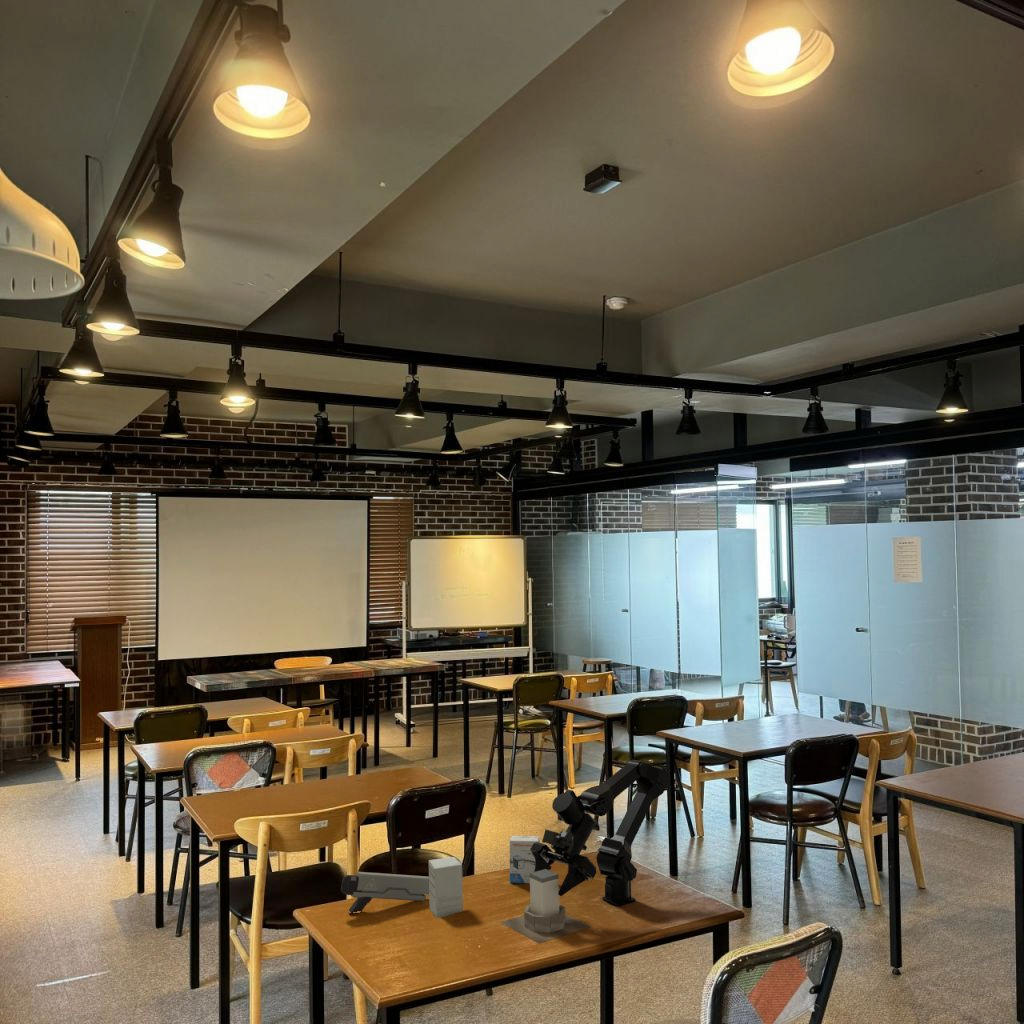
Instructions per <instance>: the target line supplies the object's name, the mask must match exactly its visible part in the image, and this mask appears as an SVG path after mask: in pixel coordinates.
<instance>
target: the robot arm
mask: <svg viewBox="0 0 1024 1024" xmlns="http://www.w3.org/2000/svg"><path fill="white" fill-rule="evenodd" d="M670 781H671V775H670V773H669V771H668V769H667V768H665V767H660V766H656V765H649V764H648V763H646V762H644V761H642V760H635V759H630V760H628V761H626V763H625V765H623V767H621V768H620V769H619V770H617V771H616V772H615V773H613V774H612V775H611V776H610V777H609V778H608V779H606V780H605V781H604V782H603V783H601V784H598V785H593V786H590V787H588V788H586V789H584V790H583V791H582V792H581V793H580V794H579V795H576V793H575V791H574V790H573V789H569V788H568V789H566V790H565V792H562V793H560V794H559V795H558V796H556V797H555V798H553V801H552V804H551V805H552V806H551V808H552V810H553V811H554V812H555V813H556V814H557V815H558V817H559V818H560V819H561V820H562V821H563V823H564V824H566V825H568V826H567V828H566V830H563V829H562V830H560V832H556V831H553V830H550V829H544V834H543V837H542V839H541V840H542V841H541V842H540V843H539V842H536V843H534V844H533V846H532V847H531V849H530V851H531V852H532V855H533V856H534V857H535V871H534V872H537V871H540V870H544V869H547V870H549V871H551V869H552V865H553V864H554V863H555V862H557V863H560V864H563V865H567V873H566V875H565V877H564V879H563V882H562V883H561V885H560V887H559V892H558V895H559V897H562V896H564V895H565V894H567V893H568V892H569V891H571V890H572V889H574V888H575V887H577V886H578V885H580V884H582V883H584V882H585V881H586V882H587V881H589V879H591V880H593V879H594V878H595V876H596V874H597V867H598V870H599V873H600V876H601V875H602V876H605V877H604V878H605V883H604V896H602V897H601V900H602V901H605V902H607V901H608V903H609V904H610V903H611V904H612V905H614V904H615V905H614V906H619V905H620V906H622V905H627V904H629V903H631V901H632V902H635V901H636V898H635V897H633V896H632V881H633V880H634V879H636V877H637V873H638V869H637V868H636V867H635V865H634V864H633V863H632V862H631V861H632V859H633V855H632V854H633V853H632V844H633V842H634V840H635V839H636V836H637V834H638V833H639V831H640V828H641V826H642V824H643V822H644V820H645V819H646V816H647V814H648V811H649V810H650V807H651V805H652V804H653V802H654V800H656V799H657V798H659V797H660V796H661V795H663V794H664V793H665V791H666V789H667V788H668V786H669V784H670ZM634 783H636V793H635V795H634V797H633V798H632V800H631V801H630V805H629V806H628V808H627V810H626V812H625V814H624V816H623V818H622V820H621V822H620V824H619V826H618V828H617V830H616V832H615V833H614V835H613V837H611V838H608V837H604V839H602V842H601V844H600V846H599V848H598V849H597V855H596V857H595V859H596V863H597V867H596V865H595V864H594V863H593V861H591V860H590V859H589V857H588V856H584V855H582V854H581V852H582V851H586V850H587V849H588V846H587V845H586V843H587V841H588V840H589V837H590V835H592V831H597V832H599V831H600V829H601V828H600V825H599V819H597V818H594V817H593V816H592V815H594V816H598V817H604V816H606V815H607V814H608V812H609V811H610V810H611V809H612V808H613V806H614V802H615V801H614V800H615V799H617V798H618V796H620V795H621V794H622V793H623V792H624V791H625V790H626V789H628V788H629V787H630V786H631V785H633V784H634ZM545 843H546V844H545ZM547 844H548V845H550V847H549V846H548V845H547ZM634 900H635V901H634ZM628 902H629V903H628Z"/></svg>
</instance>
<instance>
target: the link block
mask: <svg viewBox="0 0 1024 1024" xmlns="http://www.w3.org/2000/svg"><path fill="white" fill-rule="evenodd" d="M559 881H560V880H559V873H557V872H554V871H552V870H547V869H544V870H540V871H537V872H533V873H530V883H529V891H530V892H529V893H530V894H529V897H530V900H529V902H530V904H529V905H530V907H531V913H532V914H534V915H537V916H551V915H555V914H558V913H559V905H560V896H559V895H558V892H559V890H560V887H559V885H560V883H559Z"/></svg>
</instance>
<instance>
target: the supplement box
mask: <svg viewBox="0 0 1024 1024" xmlns="http://www.w3.org/2000/svg"><path fill="white" fill-rule="evenodd" d="M428 877H429V895H428V897H429V900H428V901H429V910H430V911H431V913H432V912H433V913H432V914H433V916H434V915H435V916H434V918H435V919H436V918H437V919H440V918H441V919H442V918H444V917H447V916H451V915H454V914H455V915H456V914H458V913H461V912H463V911H464V898H463V897H464V895H463V893H464V892H463V891H464V890H463V887H464V886H463V864H462V863H461V862H460V861H459V860H458V859H457V858H456V856H450V857H444V858H443V857H442V858H436V859H429V860H428Z"/></svg>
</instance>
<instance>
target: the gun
mask: <svg viewBox="0 0 1024 1024" xmlns="http://www.w3.org/2000/svg"><path fill="white" fill-rule="evenodd" d="M340 892H341V893H342V894H343V895H346V896H351V897H352V898H356V899H355V901H354V902H353V903H352V905H351V906H350V907H349V909H348V910H349V911H350V912H351V913H353V912H357V911H361V912H362V911H363V910H364V909H365V907H366V906H367V905H368V904H369V903H370V902H371V901H372V900H373V899H378V900H379V899H381V900H398V901H414V902H415V901H418V902H425V901H426V899H427V895H428V896H429V876H424V875H423V876H422V875H409V874H395V873H393V874H392V873H381V872H365V871H357V873H356V875H354V874H346V875H345V876H343V878H342V880H341V885H340Z"/></svg>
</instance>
